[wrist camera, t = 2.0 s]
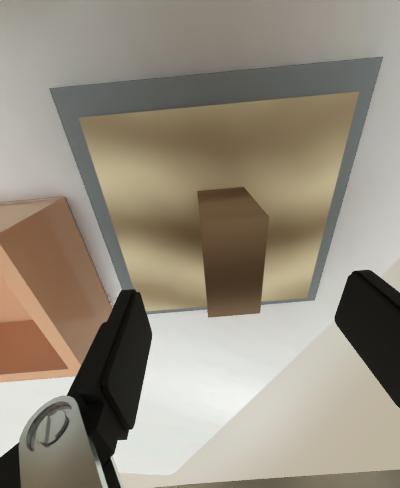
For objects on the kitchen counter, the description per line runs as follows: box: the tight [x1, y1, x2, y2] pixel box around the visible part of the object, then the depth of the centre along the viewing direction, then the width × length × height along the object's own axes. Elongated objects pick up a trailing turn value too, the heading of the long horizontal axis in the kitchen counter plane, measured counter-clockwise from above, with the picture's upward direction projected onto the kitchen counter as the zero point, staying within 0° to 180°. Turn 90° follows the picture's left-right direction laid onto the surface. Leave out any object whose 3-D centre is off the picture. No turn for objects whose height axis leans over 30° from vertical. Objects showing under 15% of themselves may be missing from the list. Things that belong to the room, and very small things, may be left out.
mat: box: [49, 57, 383, 314], centre depth 16 cm, size 18×18×1 cm
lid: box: [79, 92, 359, 317], centre depth 13 cm, size 15×15×6 cm
